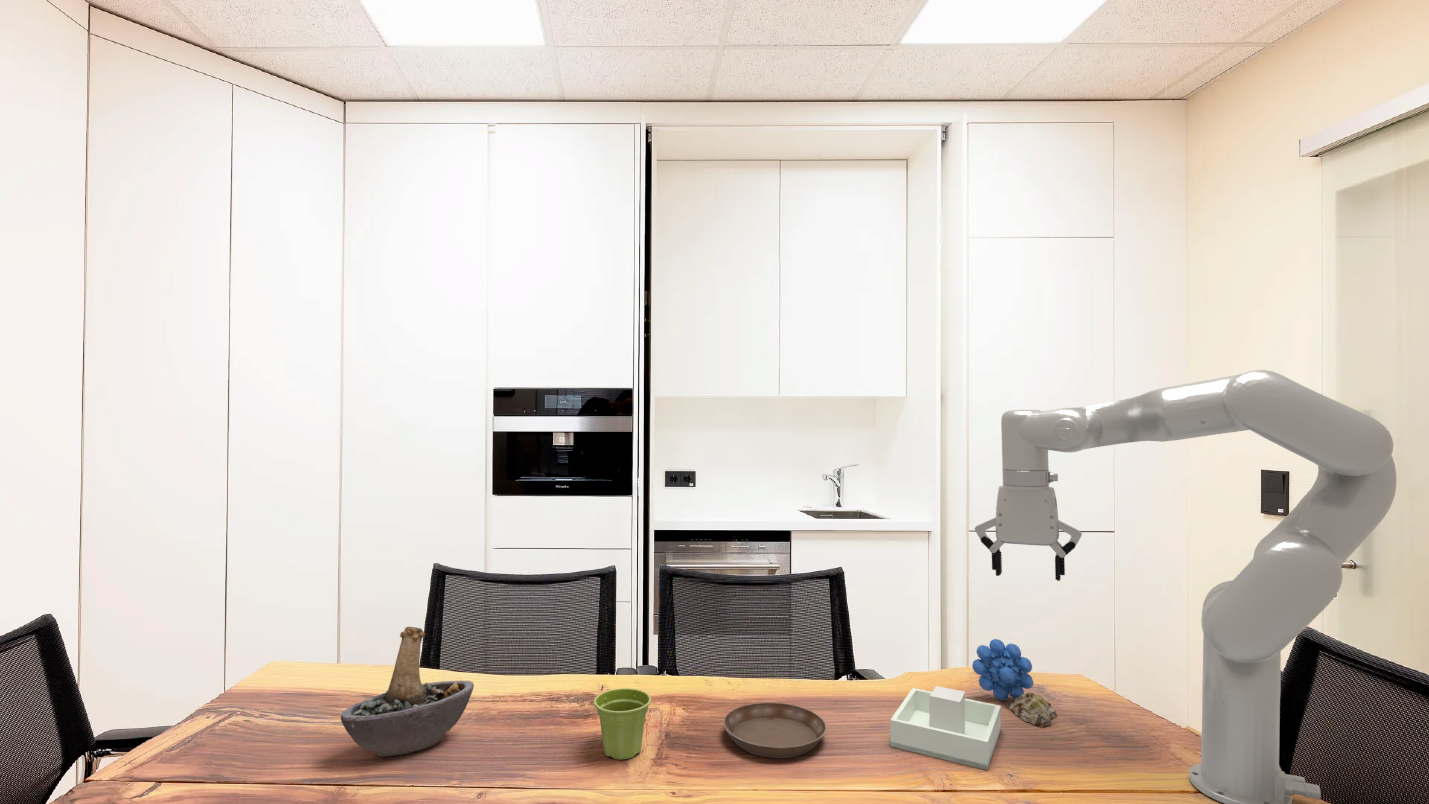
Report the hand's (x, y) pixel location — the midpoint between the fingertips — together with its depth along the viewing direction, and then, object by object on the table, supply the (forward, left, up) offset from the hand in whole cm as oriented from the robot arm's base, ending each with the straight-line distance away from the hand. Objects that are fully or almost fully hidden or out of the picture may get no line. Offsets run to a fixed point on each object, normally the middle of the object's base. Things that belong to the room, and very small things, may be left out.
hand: (1028, 576), depth 127 cm
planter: (+89, +58, -28) cm, 110 cm away
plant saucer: (+38, +24, -28) cm, 53 cm away
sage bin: (+12, +9, -28) cm, 32 cm away
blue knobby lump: (+5, -13, -28) cm, 31 cm away
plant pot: (+58, +41, -28) cm, 76 cm away
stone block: (+12, +9, -27) cm, 31 cm away
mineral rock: (0, -9, -28) cm, 30 cm away
